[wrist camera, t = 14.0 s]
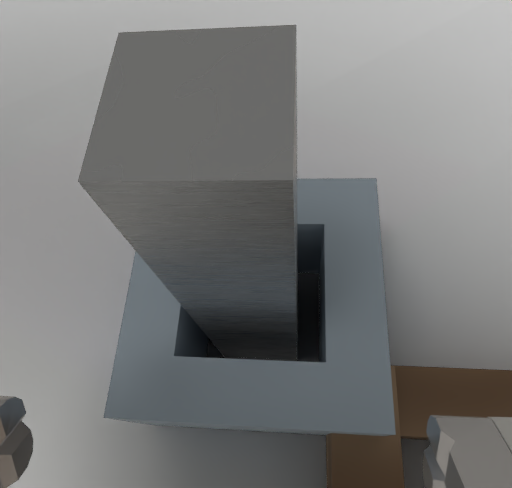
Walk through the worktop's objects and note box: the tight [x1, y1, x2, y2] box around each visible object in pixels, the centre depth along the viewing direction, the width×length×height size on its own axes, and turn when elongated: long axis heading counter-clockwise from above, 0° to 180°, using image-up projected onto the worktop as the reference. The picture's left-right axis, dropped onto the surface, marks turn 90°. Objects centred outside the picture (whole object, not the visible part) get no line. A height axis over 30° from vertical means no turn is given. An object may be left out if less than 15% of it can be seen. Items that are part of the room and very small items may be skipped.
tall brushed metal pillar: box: [78, 25, 298, 360], centre depth 13 cm, size 3×3×14 cm
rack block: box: [104, 178, 396, 436], centre depth 17 cm, size 9×9×5 cm
